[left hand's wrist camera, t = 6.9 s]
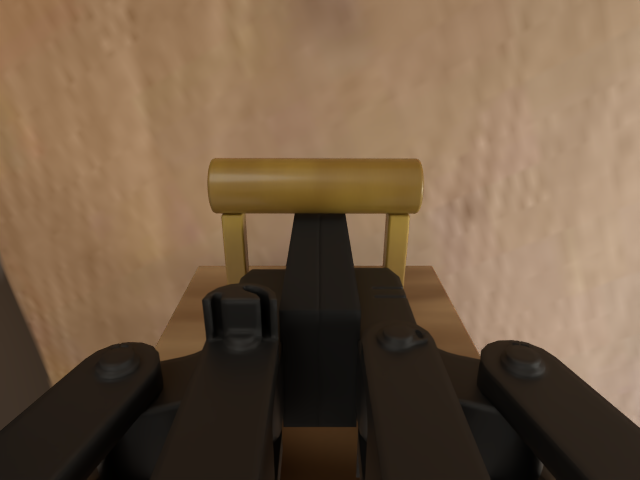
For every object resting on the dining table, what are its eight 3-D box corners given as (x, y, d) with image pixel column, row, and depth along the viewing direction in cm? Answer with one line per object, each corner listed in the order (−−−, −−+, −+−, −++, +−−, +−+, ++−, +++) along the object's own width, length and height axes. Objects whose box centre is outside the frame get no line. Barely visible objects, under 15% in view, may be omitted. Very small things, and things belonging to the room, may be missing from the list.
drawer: (183, 131, 16) (104, 181, 10) (447, 132, 16) (525, 181, 10) (229, 538, 25) (201, 695, 19) (401, 537, 25) (428, 693, 19)
